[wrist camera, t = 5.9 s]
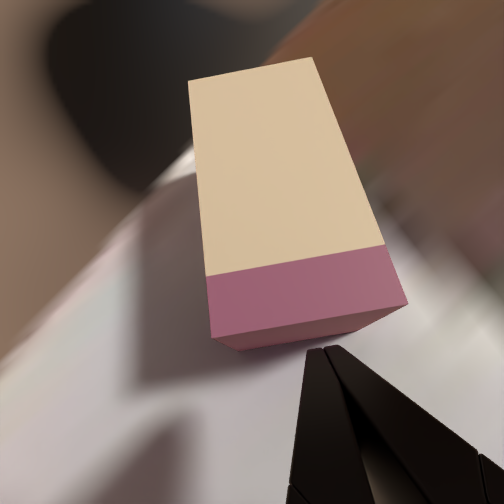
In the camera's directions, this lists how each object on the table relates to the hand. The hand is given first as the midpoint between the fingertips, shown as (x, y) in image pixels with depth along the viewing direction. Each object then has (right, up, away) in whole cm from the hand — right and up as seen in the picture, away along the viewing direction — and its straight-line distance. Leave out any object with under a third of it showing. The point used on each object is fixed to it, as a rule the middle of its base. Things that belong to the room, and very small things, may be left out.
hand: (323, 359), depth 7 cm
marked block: (0, 0, +4) cm, 4 cm away
